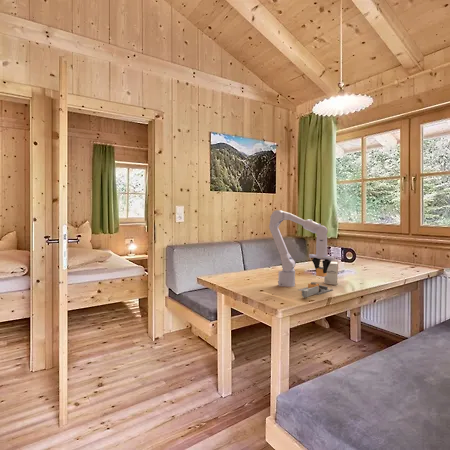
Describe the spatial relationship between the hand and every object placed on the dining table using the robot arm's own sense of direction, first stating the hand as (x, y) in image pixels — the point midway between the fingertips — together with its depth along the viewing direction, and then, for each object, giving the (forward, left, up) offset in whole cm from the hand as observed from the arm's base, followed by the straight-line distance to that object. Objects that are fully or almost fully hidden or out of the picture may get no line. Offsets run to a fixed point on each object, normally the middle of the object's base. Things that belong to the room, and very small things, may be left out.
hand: (321, 272), depth 171 cm
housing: (-4, -5, -9) cm, 11 cm away
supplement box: (+9, +15, -10) cm, 20 cm away
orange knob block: (0, 0, -2) cm, 2 cm away
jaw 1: (-6, -8, -9) cm, 13 cm away
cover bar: (-8, -17, -8) cm, 20 cm away
